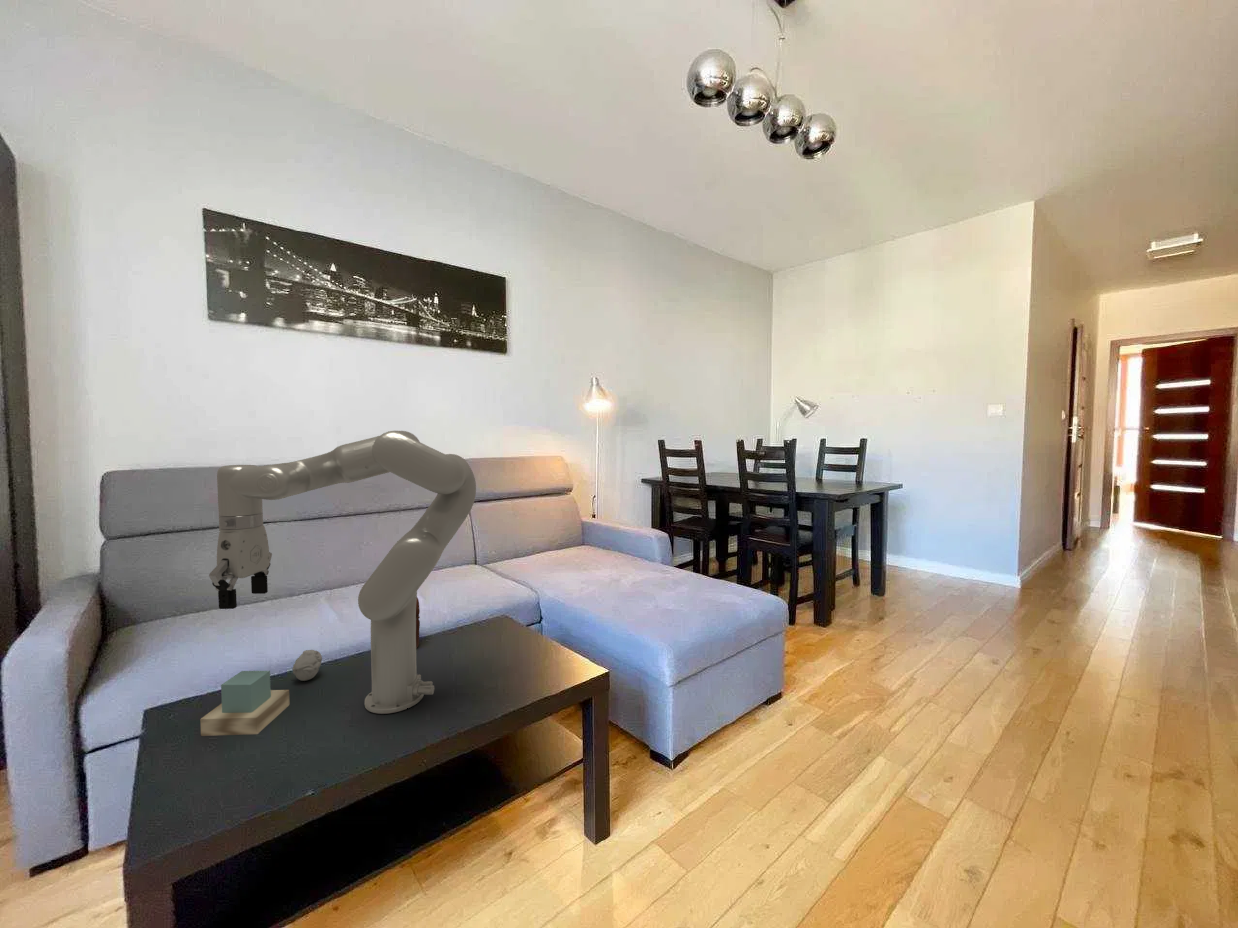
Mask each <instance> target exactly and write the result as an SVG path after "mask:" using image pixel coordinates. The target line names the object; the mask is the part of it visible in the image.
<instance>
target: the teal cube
mask: <svg viewBox="0 0 1238 928" xmlns="http://www.w3.org/2000/svg"><path fill="white" fill-rule="evenodd" d="M220 688H221V689H220V691H221V692H220V694H221V703H222V713H249V712H253V711H254V710H256V709H257V708H258V707H259V706H260V705H262V704H263V703H264V702H265V701H267V700H268V699H269V698H270V697H271V690H272V689H271V670H241V671H239V672H238V673H237V674H235V675H233V676H232V677H230V679H228V680H226V681H225V682H223V683H221V684H220Z"/></svg>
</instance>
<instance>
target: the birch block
mask: <svg viewBox="0 0 1238 928" xmlns="http://www.w3.org/2000/svg"><path fill="white" fill-rule="evenodd" d="M289 706H290V689H271V697H270V698H269V699H268V700H267V701H265V702H264V703H263V704H262V705H260V706H259V707H258V708H257V709H256V710H254V711H253V712H249V713H222V702H221V703H220V704H219V705H217V706H216V707H214V708H213V709H212V710H211V711H209V712H208V713H206V714H205V715H204V716H202V717H201V718H200V719H199V720H200V736H201V737H207V736H212V737H213V736H214V737H215V736H236V735H239V736H240V735H259V734H260V732H261V731H263V730H264V729H265V728H266V727H268V725H269V724H270V723H271V722H272V721H274V720H275V719H276V718H277V717H278V716H279V715H280V714H282V712H283V711H285V710H286V709H287V708H288V707H289Z"/></svg>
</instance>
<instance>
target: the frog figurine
mask: <svg viewBox="0 0 1238 928" xmlns="http://www.w3.org/2000/svg"><path fill="white" fill-rule="evenodd" d="M322 660H323V656H322V654H321V653H320V651H319V650H315V649H306V650H304V651H302V653H301V655H300V654H299V656H298V657H297V659H296V660H295V662H294V664H293V667H292V669H291V670H292V674H294V675H295V677H296V679H298V680H300V681H302V682H303V681H304V682H305V681H306V682H307V681H309V680H312V679H313V678H314V677H315V676H316V675H317V674H318V673H319V670H320V667H321V666H322Z"/></svg>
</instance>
